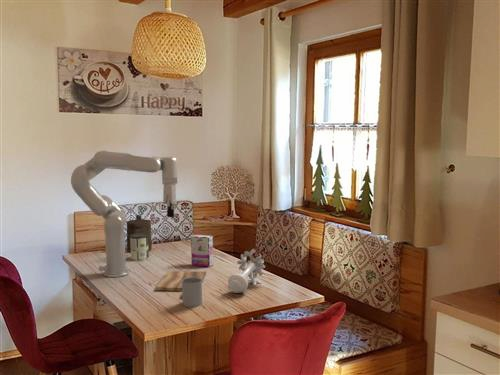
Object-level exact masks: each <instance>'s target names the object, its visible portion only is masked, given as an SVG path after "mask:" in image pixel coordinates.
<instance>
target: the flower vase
mask: <svg viewBox="0 0 500 375" xmlns="http://www.w3.org/2000/svg"><path fill="white" fill-rule="evenodd" d="M256 251H257V249H255V248H252V249H251V250H249V251H248V250H245V251H243V254H240V259H239V260H237V262H236V264H237V265H239V267H238V270H242V272H241V273H236V272H235V273H233V274H231V275H230V276H229V277H228V281H227V282H228V284H227V285H228V287H229V288H228V289H229V290H230V291H231V292H232V293H235V294H237V293H238V294H240V293H241V294H242V293H245V291H246V290H247V289H248V287H249V284H251V283H252V285H253V286H256V285H257V283H259V284H263V283H262V281H259V279H257V277H258V275H260V276H262V275H263V271H262V270H264V269H265V268H266V265H264V263H265V261H264V259H263V258H262V254H261V253H259V256H256V257H255V258H254V256H253V254H254V253H255V252H256ZM247 257H249V260H247Z"/></svg>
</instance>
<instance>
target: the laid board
mask: <svg viewBox="0 0 500 375" xmlns="http://www.w3.org/2000/svg"><path fill="white" fill-rule="evenodd" d="M206 275H207V271H204V270H203V271H199V270H198V271H197V270H196V271H192V270H191V271H190V270H189V271H188V270H187V271H186V273H185V275H184V276H183V278H182V280H183V279H186V278H200V279H202V283H203V282H204V281H205V280H204V279H205V277H206ZM182 280H181V281H180V283H179V285H178V286H177V290H176V292H182Z"/></svg>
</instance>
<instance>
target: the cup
mask: <svg viewBox="0 0 500 375" xmlns="http://www.w3.org/2000/svg"><path fill="white" fill-rule="evenodd" d="M181 294H182V296H181V297H182V298H181V299H182V300H181V301H182V305H183V306H184V307H187V308H191V307H192V308H194V307H199V306H202V304H203V282H202V279H200V278H186V279H183V280H182V291H181Z"/></svg>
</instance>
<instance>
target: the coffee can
mask: <svg viewBox="0 0 500 375" xmlns="http://www.w3.org/2000/svg"><path fill="white" fill-rule="evenodd" d="M130 245H131V252H130V261H132V260H133V262H143V261H148V260H149V259H150V257H149V256H150V255H149V254H150V253H149V252H150V251H149V250H148V234H145V233H137V234H132V235H130Z"/></svg>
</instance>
